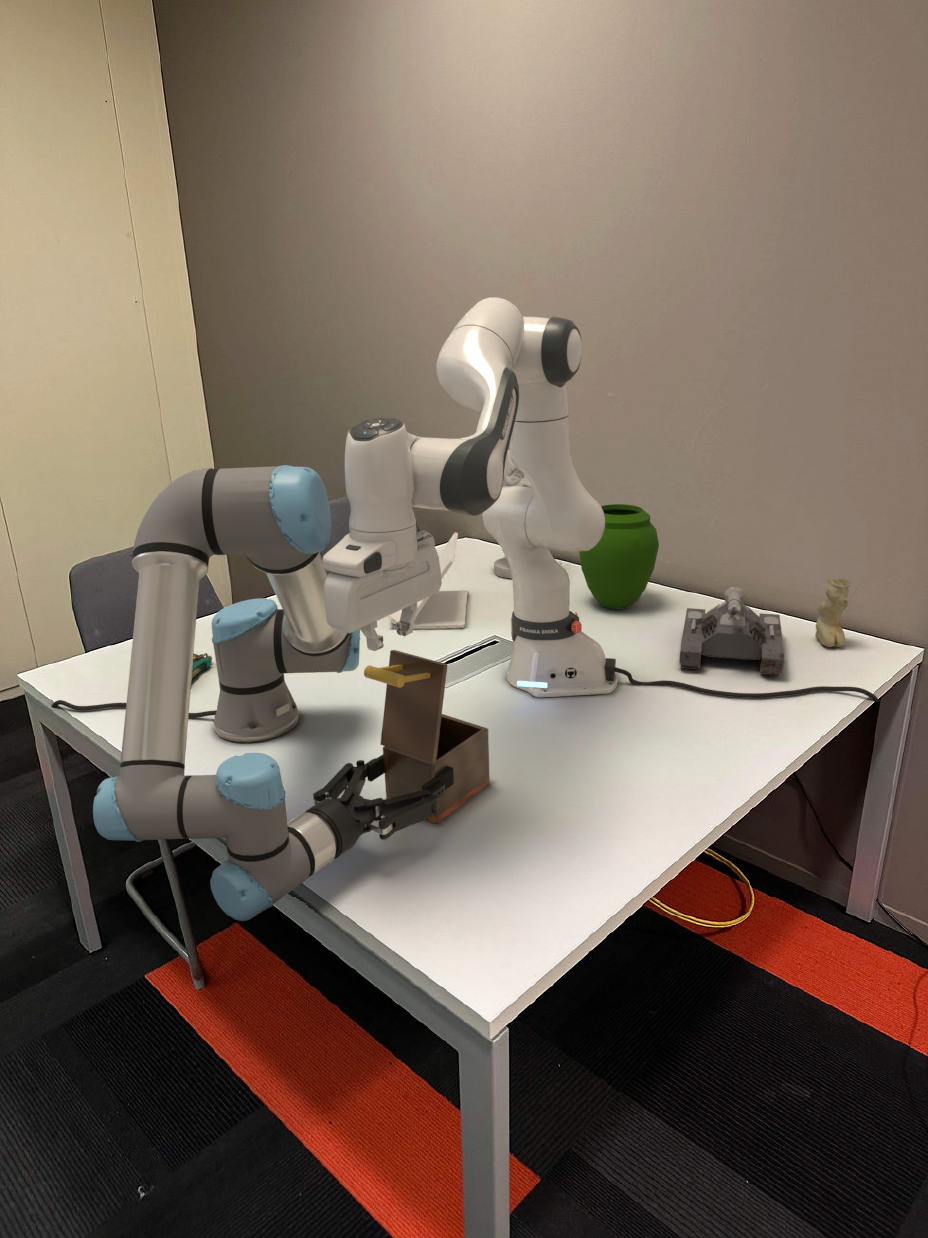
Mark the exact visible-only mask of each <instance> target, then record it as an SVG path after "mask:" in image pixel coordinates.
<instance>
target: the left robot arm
mask: <svg viewBox="0 0 928 1238" xmlns="http://www.w3.org/2000/svg"><path fill="white" fill-rule="evenodd" d="M145 512H146V513H145V514H144V516H143V518H142V520H141V522H140V524H139V527H138V529H137V532H136V536H135V539H134V542H133V549H132V559H131V560H132V561H131V566H132V568H133V569H134V571H136V572H137V573H138V581H137V582H138V583H137V591H136V592H137V593H136V601H135V602H136V603H135V614H134V623H133V624H134V625H133V634H132V643H131V654H130V664H129V674H128V682H127V683H128V685H127V692H126V693H127V694H126V702H110V703H101V704H93V705H76V704H73V703H70V702H68V701H66V700H62V699H58V700H56V701H54V702H53V703H51V706H50V707H51V708H57V707H58V706H60V705H61V706H64V707H66V708H68V709H70V710H74V711H97V710H104V709H112V708H113V709H115V708H125V713H124V723H123V724H124V725H123V732H122V733H123V734H122V742H121V743H122V744H121V746H122V747H121V753H120V764H119V765H120V766H119V767H120V768H119V773H118V776H113V777H107V778H105V779H104V780H102V781H101V783H100V784H99V785H98V787H97V790H96V795H95V796H94V797H93V805H92V815H93V817H92V818H93V823H94V827H95V828H96V831H97V832H98V834H99V835H100V836H101V837H103V838H104V839H106V840H107V841H135V842H137V843H138V842H139V843H141V842H143V841H157V840H186V839H187V840H188V839H190V840H197V839H198V840H199V839H200V840H201V839H202V840H203V839H206V840H207V839H224V840H225V846H226V852H227V857H228V858H227V860H224V861H222V862H221V864H220V865H219V866H217V867H216V868H215V869H214V870H213V871H212V875H211V878H210V884H209V885H210V891H211V893H212V896H213V898H214V900H215V902H216V904H217V905H218V906H219V908H220V910H222V912H224V914H226V915H227V916H228V917H230V918H232V919H233V920H235V921H238V922H246V921H250V920H251V919H252V918H254V917H256V916H258V915H259V914H261V913H263V912H264V911H266V910H267V909H271V908H272V907H274V905H275V904H276V903H277V902H279V901H280V900H281V899H283V898H284V897H285V896H286V895H287V894H289V893H290V892H292V891H293V890H294V889H296V888H297V887H298V886H300V885H301V884H303V883H304V882H305V881H306V880H308V879H310V878H311V877H312V876H313V875H315V874H316V873H318V872H319V871H320V870H323V868H325V867H326V866H327V865H329V864H330V863H332V862H333V861H334V860H335V859H338V858H339V857H341V856H342V855H343V854H344V853H346V852H347V851H349V850H351V849H352V848H353V847H354V846H355V845H356V843H357V841H358V840H359V838H361V836H362V835H364V834H367V833H370V832H372V831H373V832H375V833H378V835H379V839H380V840H384V841H385V840H387V839H389V838H390V837H391V836H392V835H394V834H395V833H397V832H399V831H402V830H404V829H405V828H408V827H410V826H412V825H415V824H417V823H419V822H421V821H424V820H426V818H428V817H431V816H433V815H435V814H437V813H438V803H437V799H438V798H439V797H440V796H441V795H443V794H444V793H445V790H446V789H447V788H449V787H450V786H451V785H453V784H454V774H453V768H452V767H448V768H447V769H445V770H444V771H442V772H441V773H440V774H438V775H437V776H435V777H434V778H432V779H431V780H429V781H428V782H427V783H425V784H424V785H422V790H421V791H417V792H413V793H409V794H405V795H401V796H397V797H393V798H389V799H386V798H384V799H383V798H382V797H377V798H372V799H368V798H364V797H363V796H362V795H361V793H362V791H363V788H364V786H365V783H366V779H367V781H368V782H374V781H375V780H376V779H378V778H379V777H381V776H382V775H385V772H384V758H383V754H381V755H379V756H378V757H375V758H372V759H371V760H368V762H365V761H364V760H363V759H358V760H356V763H355V764H356V766H355V765H354V764H353V763H351V762H347V763H345V764H344V765H343V766H342V767H341V769H339V770H338V772H336V774H335V775H334V776H333V777H332V778H331V779H330V780H329V781H328V782H327V783H326V784H325V786H323V787H322V788H320V789H319V790H317V791H315V792H314V793H312V798H313V799H312V800H313V805H312V806H311V807H310V808H308V809H307V810H306V811H305V812H301V813H299V814H298V815H297V816H295V817H293V818H292V819H291V820H289V821H288V817H287V806H286V804H287V803H286V790H285V787H284V784H283V778H282V774H281V768H280V766H279V765H280V764H279V763H278V761H276V759H274V757H272V756H270V755H268V754H265V753H261V752H245V753H244V754H242V755H233V756H231V757H229V758H227V759H225V760H224V761H223V762H222V763H221V764H220V765H219V766H218V768H217V770H216V772H215V773H216V774H197V775H196V774H195V775H190V774H189V775H185V769H186V751H187V740H188V728H189V718H192V719H193V718H195V719H196V718H204V717H211V716H214V718H213V719H214V720H213V723H214V729H215V732H216V734H217V735H218V737H220V738H222V739H224V740H227V741H231V742H236V743H255V742H256V743H258V742H264V741H268V740H272V739H275V738H278V737H280V736H282V735H285V734H287V733H288V732H290V731H291V730H292V729H294V728H295V727H296V725H298V722H299V720H300V717H299V709H298V706H297V704H296V701H295V700H294V697H293V696H292V693H291V691H290V689H289V687H288V685H287V683H286V680H285V674H311V673H314V674H315V673H336V674H341V673H344V672H352V671H355V670H357V669H358V668H359V665H360V650H361V649H360V648H361V647H360V646H361V630H360V629H358V630H356V631H354V632H352V633H345V632H341V631H337V630H334V629H332V628H331V627H330V625H329V624H328V623H327V619H326V612H325V600H324V584H325V580H326V577H327V575H328V573H327V570H325V569H324V567H323V557H322V555H321V552H323V551H324V550H325V549H327V548H328V546H329V545H330V542H331V537H332V529H333V528H332V527H333V526H332V513H331V506H330V504H329V495H328V491H327V489H326V485H325V483H324V481H323V479H322V478H321V476H320V475H319V474H318V472H317V471H316V470H314V469H312V468H311V467H309V466H308V467H307V466H292V465H289V464H283V465H277V466H256V467H255V466H253V467H252V466H251V467H230V468H229V467H227V468H211V467H210V468H209V467H208V468H207V467H206V468H199V469H194V470H191V471H189V472H186V473H184V474H181V475H180V476H178V477H176V478H175V479H174V480H172V481H171V482H170V483H169V484H167V486H165V487H164V489H163V490H162V491H160V492H159V493H158V494H157V496H156V497H155V498H154V500H153V501H152V502H151V504H150V505H149V506H148V509H147V511H145ZM233 555H234V556H237V555H238V556H240V555H245V557H246V559H247V560H248V562H249V563H250V564H251V565H252V566H253V567H254V568H255V569H257V570H258V571H260V572H262V573H265V575H266V576H267V579H268V581H269V583H270V585H271V587H272V589H273V592H274V594H275V596H276V598H277V600H278V602H279V604H280V606H281V608H279V607H278V604H277V603H276V602H275V600H274V599H272V598H269V599H268V598H265V597H264V598H261V597H260V598H252V599H246V600H242V601H238V602H235V603H232V604H231V605H227V606H224V608H221V609H220V610H218V611H217V612H216V613H215V615H213V617H212V619H211V634H212V637H211V642H212V645H213V651H214V657H215V658H214V659H215V666H216V671H217V672H216V673H217V679H218V686H219V693H218V694H219V695H218V700H217V705H216V709H215V710H206V711H199V712H190V702H191V690H192V680H191V679H193V678H192V666H193V654H195V653H194V652H195V651H194V650H195V639H196V628H197V613H198V603H199V602H198V601H199V590H200V589H199V588H200V580H201V579H202V578H204V577H205V576H206V575H207V574H208V572H209V563H210V558H211V557H212V556H233ZM340 795H341V796H340ZM377 812H378V815H377Z"/></svg>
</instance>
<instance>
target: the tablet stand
mask: <svg viewBox="0 0 928 1238" xmlns="http://www.w3.org/2000/svg"><path fill="white" fill-rule="evenodd" d="M458 537H459V533H458V532H456V531H455V532H453V534H452V535H451V537H450V539H449V540H448V542H447V543H446V544H445V546H444V548H443V549H442V551H441V552H440V554H438V557H439V563H440V569H441V578H442V579H443V578H444V577H445V575H446V574H447V573H448V571H449V570H450V569H451V567H452V566H453V564H454V562H455V558H456V553H457V545H458ZM467 605H468V591H467V590H439V592H438V593H436V594H434V595H432V596H430V597H427V598H425V599H423V600H421V601H419V602H417V611H416V614H415V617H414V620H413V622H412V627H413V630H426V629H427V630H429V629H430V630H431V629H435V630H436V629H437V630H438V629H464V628H465V627H466V618H467V617H466V616H467ZM401 613H402V609H401V610H399V611H397V612H395V613H393V614H391V615H389V617H388V621H389V622H391V623H392V624H394V625H396V623H397V622H399V621H400V617H401Z"/></svg>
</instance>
